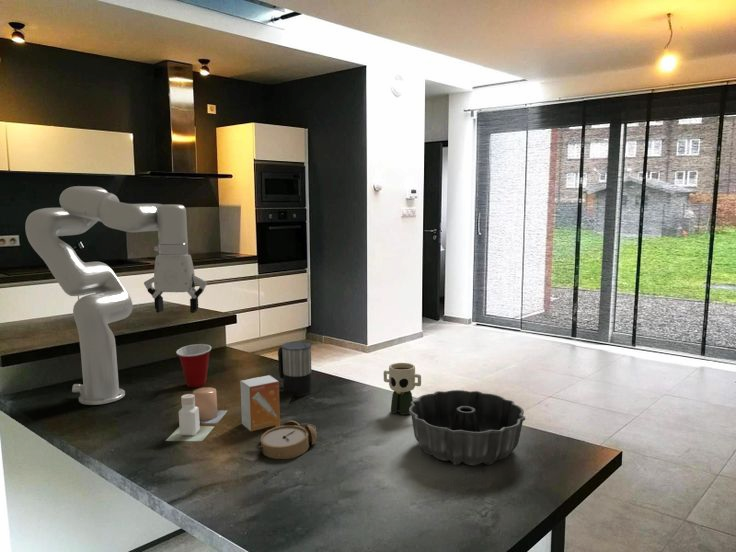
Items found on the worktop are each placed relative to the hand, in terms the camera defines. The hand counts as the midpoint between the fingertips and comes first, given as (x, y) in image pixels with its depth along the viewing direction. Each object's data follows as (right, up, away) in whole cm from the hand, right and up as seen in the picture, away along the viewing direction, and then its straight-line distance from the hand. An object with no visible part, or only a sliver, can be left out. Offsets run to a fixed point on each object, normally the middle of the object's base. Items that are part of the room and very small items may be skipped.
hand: (176, 311), depth 160 cm
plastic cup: (-2, -25, +25) cm, 36 cm away
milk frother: (+28, -26, +15) cm, 41 cm away
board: (+9, -30, -11) cm, 33 cm away
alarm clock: (+34, -31, -22) cm, 51 cm away
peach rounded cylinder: (+10, -27, -6) cm, 30 cm away
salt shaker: (+9, -29, -17) cm, 35 cm away
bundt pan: (+76, -31, -25) cm, 85 cm away
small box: (+25, -30, -11) cm, 41 cm away
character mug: (+62, -28, -1) cm, 68 cm away
